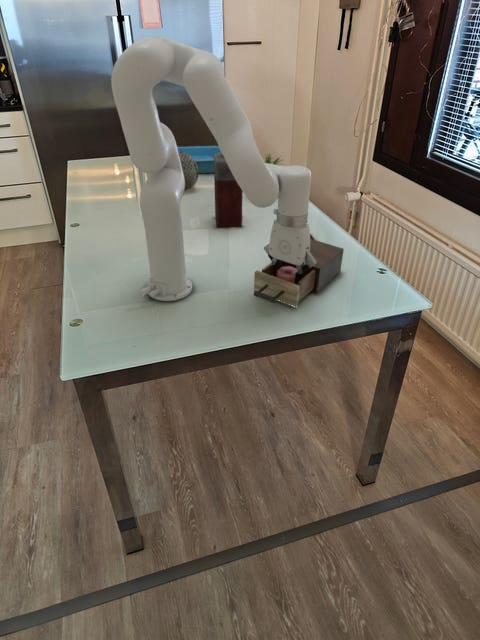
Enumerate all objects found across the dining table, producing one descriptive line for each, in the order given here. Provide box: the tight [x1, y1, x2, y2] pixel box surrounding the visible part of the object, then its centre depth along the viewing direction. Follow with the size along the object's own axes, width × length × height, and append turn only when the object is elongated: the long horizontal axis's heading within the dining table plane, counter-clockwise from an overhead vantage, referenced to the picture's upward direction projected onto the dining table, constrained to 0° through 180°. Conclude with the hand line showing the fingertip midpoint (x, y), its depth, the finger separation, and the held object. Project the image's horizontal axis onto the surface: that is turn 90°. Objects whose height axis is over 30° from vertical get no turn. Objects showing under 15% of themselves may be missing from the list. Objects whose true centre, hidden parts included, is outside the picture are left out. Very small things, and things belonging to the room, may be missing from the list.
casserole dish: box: [177, 145, 222, 174], centre depth 214 cm, size 37×22×7 cm, turn 97°
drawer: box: [253, 260, 317, 309], centre depth 125 cm, size 19×13×6 cm
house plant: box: [264, 152, 284, 166], centre depth 183 cm, size 14×14×16 cm
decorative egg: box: [179, 152, 199, 191], centre depth 189 cm, size 12×12×15 cm
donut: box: [276, 266, 297, 284], centre depth 126 cm, size 6×6×3 cm
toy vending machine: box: [213, 153, 243, 229], centre depth 159 cm, size 9×11×28 cm
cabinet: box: [305, 239, 345, 295], centre depth 134 cm, size 14×14×8 cm
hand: (287, 279), depth 126 cm, fingers closed on donut, 6 cm apart
